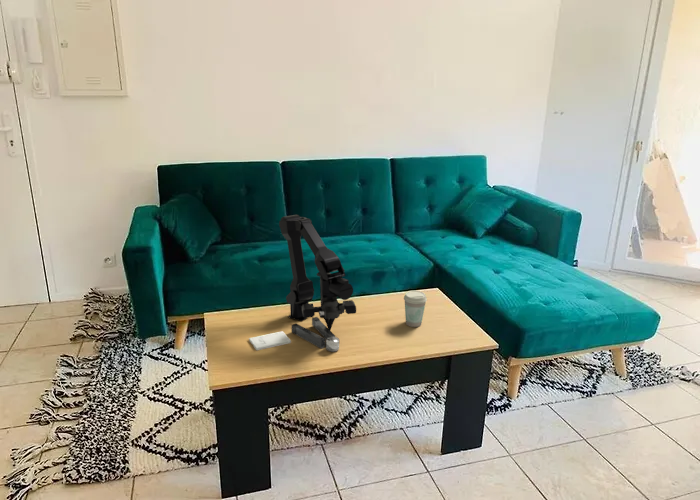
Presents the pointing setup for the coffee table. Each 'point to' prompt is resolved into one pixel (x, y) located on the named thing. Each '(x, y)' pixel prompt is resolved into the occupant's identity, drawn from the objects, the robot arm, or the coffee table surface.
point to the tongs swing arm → (326, 335)
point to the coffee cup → (414, 307)
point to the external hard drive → (269, 340)
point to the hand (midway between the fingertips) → (329, 330)
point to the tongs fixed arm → (308, 335)
